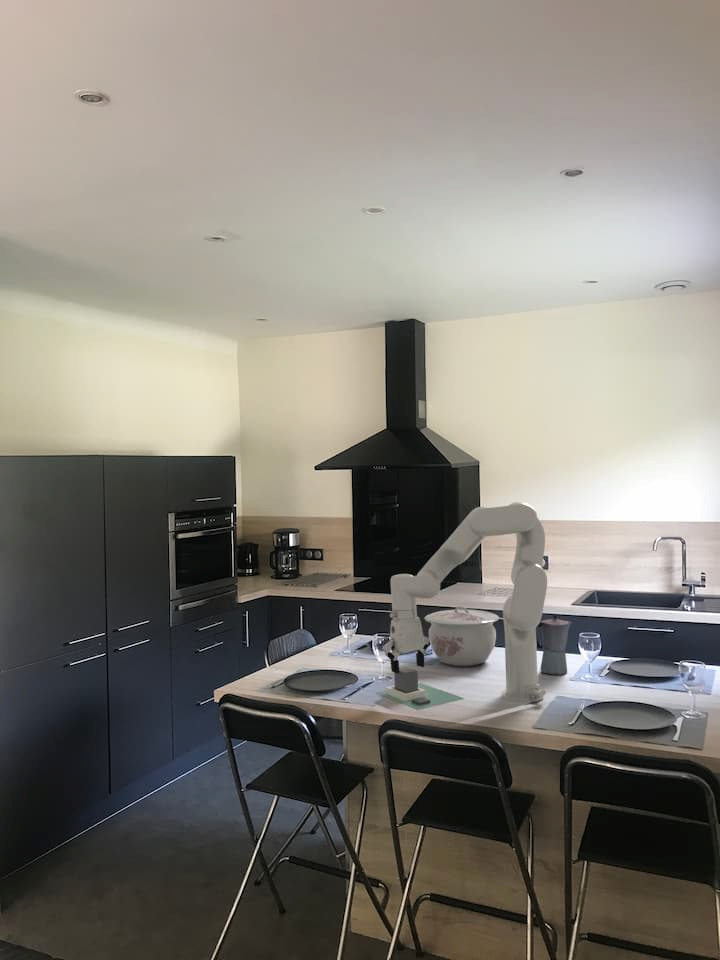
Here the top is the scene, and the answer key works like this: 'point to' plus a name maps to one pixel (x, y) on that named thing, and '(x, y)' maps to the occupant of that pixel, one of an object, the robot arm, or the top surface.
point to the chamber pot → (462, 636)
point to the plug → (406, 680)
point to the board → (420, 696)
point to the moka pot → (554, 645)
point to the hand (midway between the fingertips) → (408, 669)
